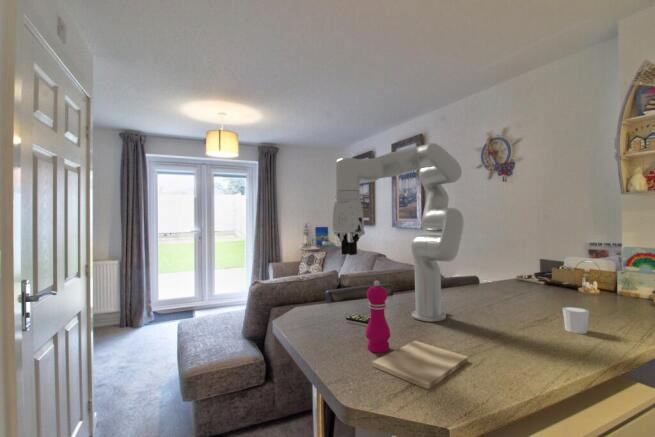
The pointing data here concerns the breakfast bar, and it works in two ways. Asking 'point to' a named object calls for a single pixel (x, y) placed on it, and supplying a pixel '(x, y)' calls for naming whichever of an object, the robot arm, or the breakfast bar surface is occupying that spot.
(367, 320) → the remote control
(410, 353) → the cutting board
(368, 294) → the pepper mill
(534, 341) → the breakfast bar surface
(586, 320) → the white tapered cylinder
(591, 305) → the breakfast bar surface
